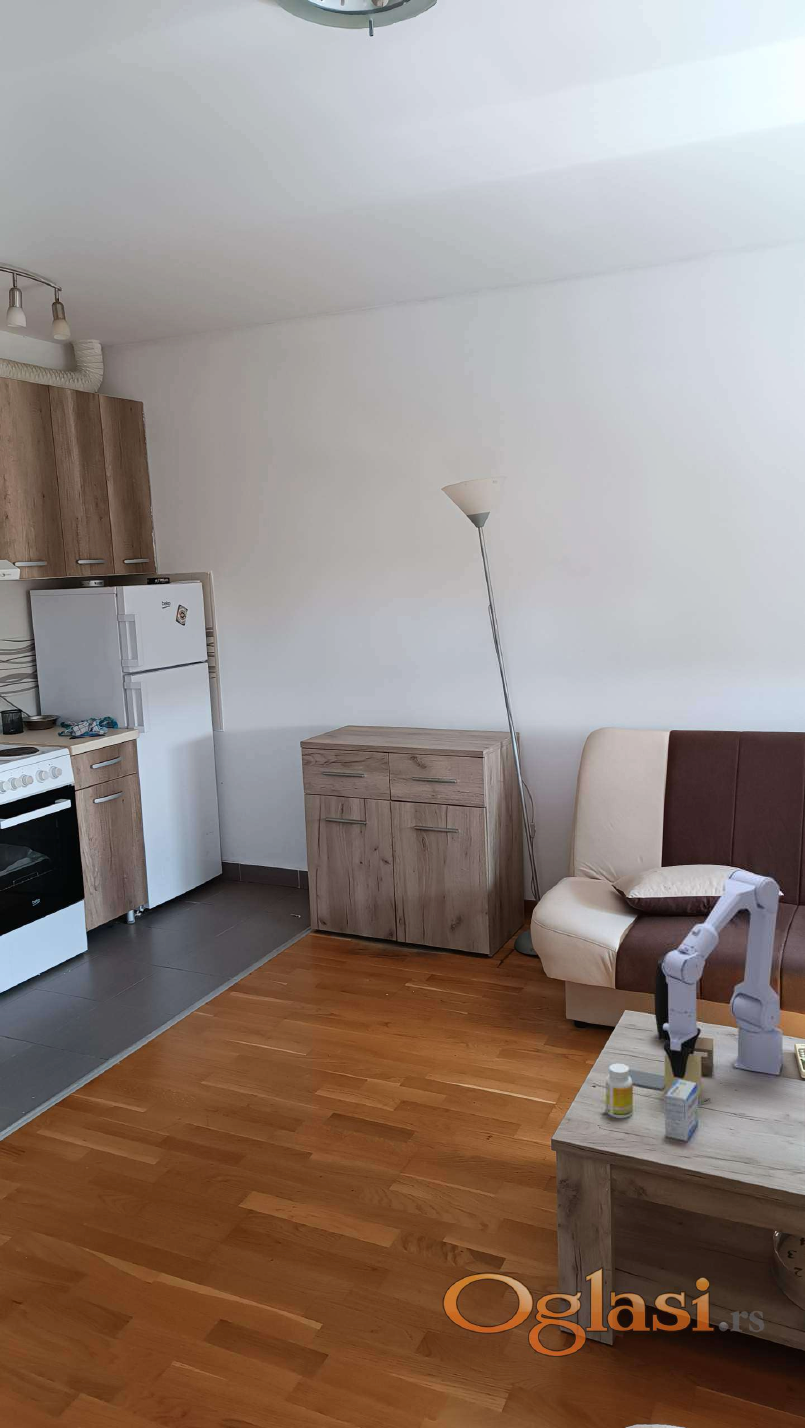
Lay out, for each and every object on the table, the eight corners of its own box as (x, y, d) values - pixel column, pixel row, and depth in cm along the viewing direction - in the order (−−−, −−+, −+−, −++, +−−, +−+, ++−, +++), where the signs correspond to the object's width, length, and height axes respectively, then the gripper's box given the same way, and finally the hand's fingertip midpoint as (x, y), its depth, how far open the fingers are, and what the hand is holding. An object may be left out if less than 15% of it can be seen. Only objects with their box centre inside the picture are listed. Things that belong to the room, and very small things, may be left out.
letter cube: (713, 1064, 222) (713, 1038, 221) (712, 1076, 216) (712, 1050, 216) (685, 1061, 224) (685, 1035, 223) (684, 1073, 218) (683, 1047, 218)
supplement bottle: (600, 1112, 203) (600, 1067, 202) (617, 1103, 206) (616, 1059, 205) (621, 1121, 199) (621, 1076, 198) (638, 1112, 202) (637, 1067, 201)
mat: (668, 1078, 216) (668, 1076, 216) (662, 1090, 211) (662, 1088, 211) (628, 1071, 220) (628, 1069, 220) (621, 1083, 215) (621, 1080, 215)
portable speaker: (656, 1030, 241) (655, 952, 239) (696, 1034, 238) (695, 956, 236) (653, 1044, 233) (652, 964, 231) (694, 1049, 230) (694, 968, 228)
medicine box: (687, 1142, 190) (686, 1099, 189) (664, 1136, 193) (664, 1094, 192) (698, 1124, 197) (698, 1082, 196) (676, 1118, 199) (676, 1077, 198)
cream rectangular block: (701, 1091, 210) (701, 1055, 209) (698, 1097, 207) (698, 1061, 206) (668, 1085, 213) (667, 1050, 212) (665, 1091, 210) (664, 1055, 210)
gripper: (670, 993, 217) (671, 1052, 218) (655, 1017, 204) (655, 1080, 205) (703, 997, 213) (703, 1057, 215) (690, 1023, 201) (690, 1086, 202)
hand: (682, 1069), depth 210 cm, fingers open, 7 cm apart
